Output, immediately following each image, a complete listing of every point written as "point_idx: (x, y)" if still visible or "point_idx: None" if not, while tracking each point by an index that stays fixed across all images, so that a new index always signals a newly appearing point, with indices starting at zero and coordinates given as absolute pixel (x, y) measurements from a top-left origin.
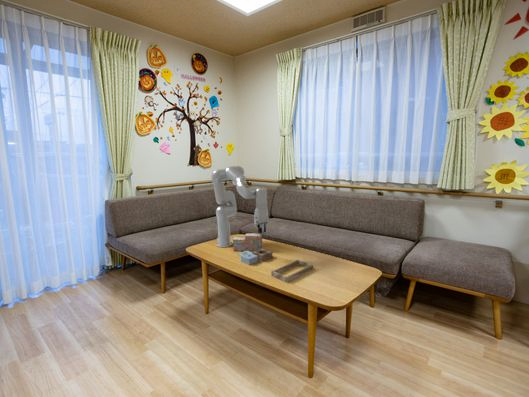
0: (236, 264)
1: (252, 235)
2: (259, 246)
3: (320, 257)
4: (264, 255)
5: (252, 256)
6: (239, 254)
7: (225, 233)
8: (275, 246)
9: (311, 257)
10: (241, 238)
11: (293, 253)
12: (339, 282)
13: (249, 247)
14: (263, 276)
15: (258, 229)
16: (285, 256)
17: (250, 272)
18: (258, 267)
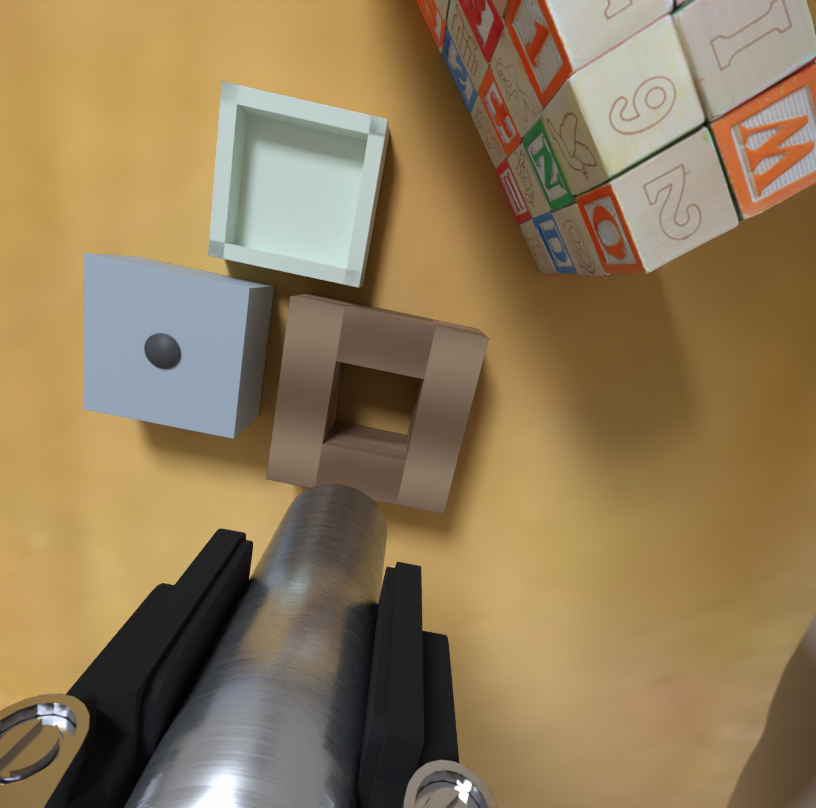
0: (42, 262)
1: (587, 38)
2: (555, 244)
3: (652, 804)
4: (310, 484)
5: (175, 395)
6: (222, 114)
7: None
8: (800, 329)
9: (619, 755)
10: None
11: (648, 602)
12: None
13: (479, 95)
14: (47, 622)
15: (105, 662)
16: (533, 575)
17: (19, 499)
18: (149, 500)
